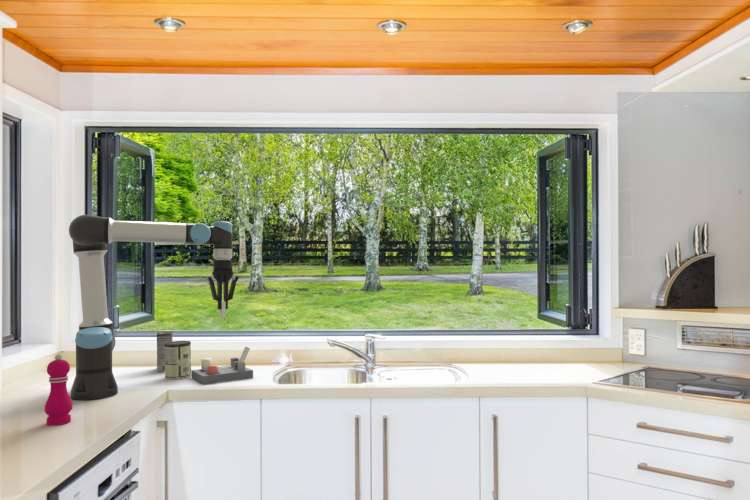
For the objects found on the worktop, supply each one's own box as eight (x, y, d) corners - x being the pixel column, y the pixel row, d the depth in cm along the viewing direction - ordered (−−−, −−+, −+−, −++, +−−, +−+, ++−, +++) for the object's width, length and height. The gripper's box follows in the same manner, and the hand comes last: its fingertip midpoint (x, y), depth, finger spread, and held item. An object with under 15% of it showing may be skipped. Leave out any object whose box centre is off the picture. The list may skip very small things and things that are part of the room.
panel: (203, 384, 220) (203, 368, 221) (191, 377, 234) (191, 362, 234) (253, 377, 232) (252, 362, 232) (238, 371, 245) (238, 357, 245)
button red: (209, 379, 224) (209, 367, 224) (206, 378, 227) (206, 365, 227) (219, 378, 226) (219, 365, 226) (216, 377, 229) (216, 364, 229)
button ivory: (203, 372, 230) (203, 360, 231) (200, 371, 234) (200, 358, 234) (213, 371, 233) (212, 359, 233) (209, 370, 236) (209, 357, 236)
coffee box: (157, 368, 257) (157, 331, 257) (173, 367, 258) (172, 331, 259) (156, 371, 248) (156, 334, 248) (172, 370, 250) (172, 333, 250)
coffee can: (171, 374, 241) (171, 340, 242) (195, 374, 240) (194, 340, 241) (159, 379, 231) (159, 344, 231) (184, 379, 230) (184, 344, 230)
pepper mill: (77, 418, 173) (76, 352, 174) (65, 425, 166) (64, 356, 167) (52, 419, 173) (52, 352, 174) (39, 426, 166) (39, 356, 166)
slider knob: (233, 366, 238) (233, 359, 238) (230, 365, 241) (230, 358, 241) (238, 365, 240) (238, 358, 240) (236, 364, 242) (236, 357, 242)
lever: (237, 367, 231) (246, 346, 234) (234, 366, 234) (244, 346, 236) (241, 369, 232) (251, 348, 235) (239, 368, 235) (248, 347, 237)
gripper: (209, 259, 228) (209, 319, 228) (241, 259, 236) (241, 317, 235) (204, 259, 235) (203, 317, 234) (235, 259, 242) (235, 315, 241)
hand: (222, 317), depth 235 cm, fingers closed
